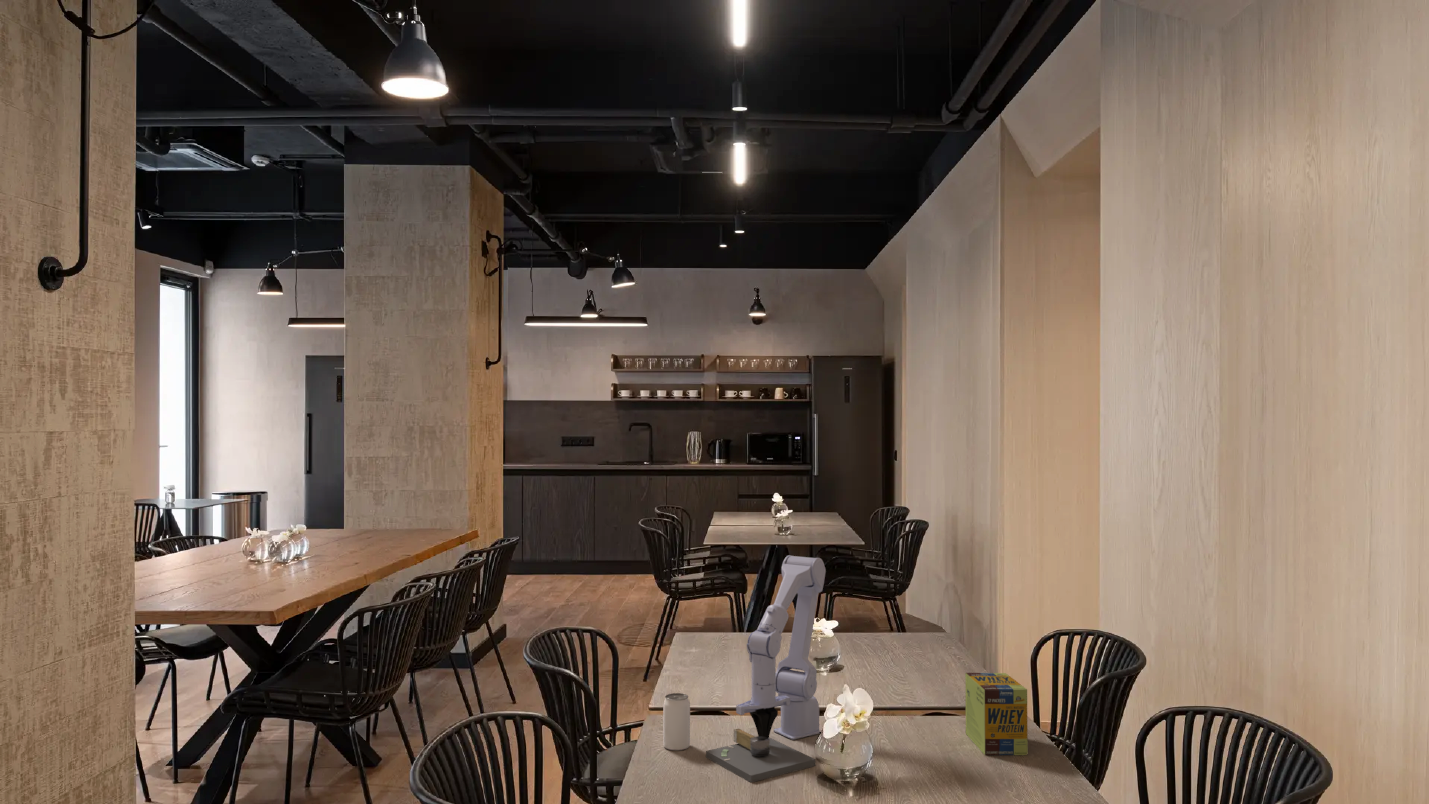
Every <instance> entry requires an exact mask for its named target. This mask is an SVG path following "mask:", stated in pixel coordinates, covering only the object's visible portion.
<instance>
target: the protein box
mask: <svg viewBox="0 0 1429 804" xmlns="http://www.w3.org/2000/svg"><path fill="white" fill-rule="evenodd" d="M964 679H965V735H966V736H967V737H968V738H969V740H971V741H972V743H973V744H975V746H976V747H977V748H978V750H980V752H981V753H982V754H983V755H984V756H1027V755H1026V754H1028V751H1029V750H1028V749H1029V747H1028V745H1029V744H1028V743H1029V742H1028V740H1029V739H1028V738H1029V737H1028V689H1027V688H1026V687H1024V685H1022V684H1020V682H1018V681H1017V680H1015V679H1014V678H1013V677H1012V676H1010V675H1009V674H1007V673H1006V672H965V677H964ZM1028 755H1029V754H1028Z"/></svg>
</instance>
